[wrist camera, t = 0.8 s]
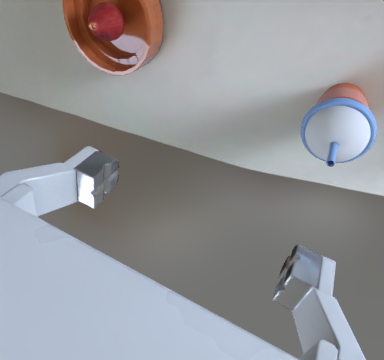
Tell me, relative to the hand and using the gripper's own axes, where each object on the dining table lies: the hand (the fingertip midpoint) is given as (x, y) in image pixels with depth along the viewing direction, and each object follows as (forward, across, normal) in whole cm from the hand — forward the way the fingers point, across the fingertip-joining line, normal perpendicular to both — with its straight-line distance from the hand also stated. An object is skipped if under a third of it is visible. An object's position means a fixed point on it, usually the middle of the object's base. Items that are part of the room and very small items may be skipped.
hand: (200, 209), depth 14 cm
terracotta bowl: (+43, +32, +10) cm, 55 cm away
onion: (+43, +32, +10) cm, 54 cm away
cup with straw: (+43, -8, +10) cm, 45 cm away
